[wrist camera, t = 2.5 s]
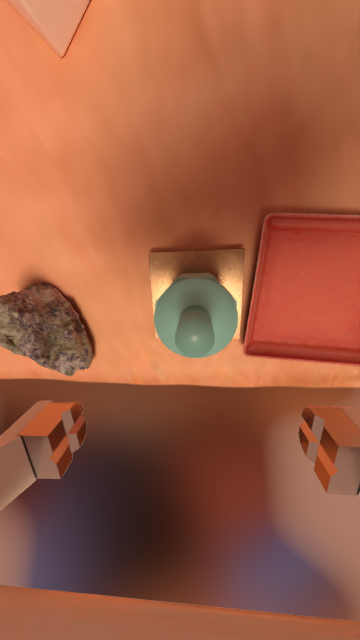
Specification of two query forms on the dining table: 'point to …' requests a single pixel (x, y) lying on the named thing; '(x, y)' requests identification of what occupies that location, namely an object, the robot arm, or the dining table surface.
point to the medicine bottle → (52, 19)
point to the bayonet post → (199, 271)
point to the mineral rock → (44, 329)
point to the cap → (196, 315)
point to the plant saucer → (307, 290)
